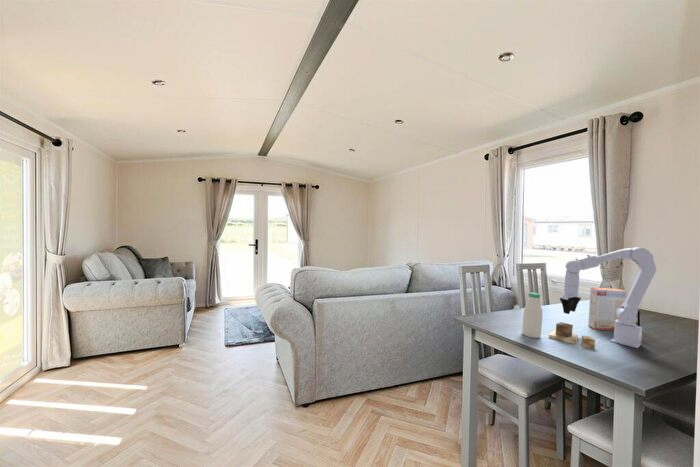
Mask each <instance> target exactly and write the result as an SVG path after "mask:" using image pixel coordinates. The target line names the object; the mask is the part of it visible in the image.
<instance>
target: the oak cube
mask: <svg viewBox="0 0 700 467" xmlns="http://www.w3.org/2000/svg"><path fill="white" fill-rule="evenodd" d="M580 344H581V346H582V348H587V349H593V350H595V348H596V347H595V346H596V339H595V338H594V337H593V336H589V335H582V334H581V343H580Z"/></svg>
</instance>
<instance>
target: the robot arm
mask: <svg viewBox="0 0 700 467" xmlns="http://www.w3.org/2000/svg"><path fill="white" fill-rule="evenodd" d="M618 259H625V260H632V261H633V262H634V263H635V264H636V265H637V267H638V268H639V271H638V274H637V276H636V277H635V279H634V281H633V284H632V286H631V288H630V290H629V292H628V294H627V295H626V300H625V301H624V302H623V303H622V305H621V307H619V308H618V309H617V310H616V312H615V313H616V316H617V317H618V318H617V320H615V328H614V331H613V338H611V339H610V342H612V343H615V344H620V345H625V346H628V347H631V348H636V349H639V347H640V346H641V345H642V338H643V327H642V326H639V325H637V324H636V323H637V320H638V317H637V315H638V312H639V306H640V304H641V302H642V300H643V298H644V296H645V294H646V292H647V291H648V289H649V286H650V284H651V282H652V281H653V278H654V276H655V274H656V273H657V267H656V263H655V260H654V255H653V254H652V253H651V252H650V251H649V249H647V248H645V247H641V246H640V247H639V246H633V247H631V248H630V247H627V248H622V249H618V250H614V251H611V252H608V253H605V254H602V255H595V254H586V256H584V257H579V258H578V257H576V258H575V260H573V259H571V260H568V261H567V262H566V263H565V270H566V271H565V276H564V288H563V291H562V292H560V294H561V295H562V297H560V298H559V301H560V302H561V305H562V310H563V313H564V314H566V315H567V314H568V315H569V314H570V313H571V312H576V310H577V307H578V305H579V303H580V301H581V299H582V298H581V297H579V286H580V271H585V270H586V271H587V270H590V269H592V268H597V267H599V266H600V264H601V263H605V262H610V261H615V260H618Z"/></svg>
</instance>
